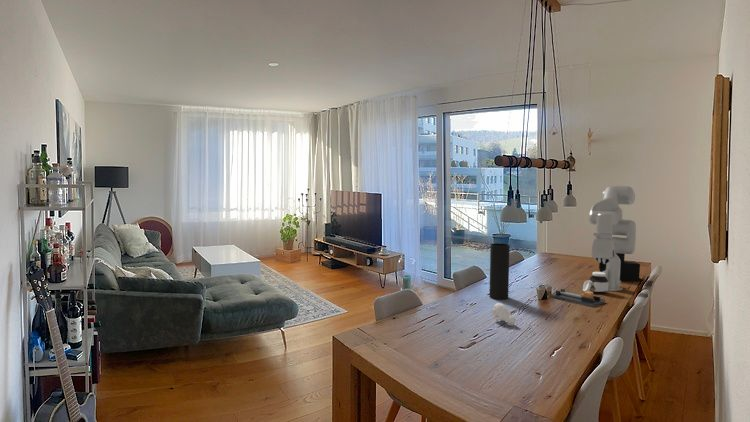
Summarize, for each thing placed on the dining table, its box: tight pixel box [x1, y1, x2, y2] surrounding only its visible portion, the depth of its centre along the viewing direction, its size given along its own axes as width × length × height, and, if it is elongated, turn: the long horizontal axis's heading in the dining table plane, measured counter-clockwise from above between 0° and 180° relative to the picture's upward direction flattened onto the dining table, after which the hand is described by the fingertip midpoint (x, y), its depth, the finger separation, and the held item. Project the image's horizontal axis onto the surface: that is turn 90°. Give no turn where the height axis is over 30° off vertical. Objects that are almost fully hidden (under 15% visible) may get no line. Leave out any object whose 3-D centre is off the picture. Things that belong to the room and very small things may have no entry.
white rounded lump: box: [491, 302, 516, 327], centre depth 211 cm, size 6×8×12 cm
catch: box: [580, 290, 594, 299], centre depth 247 cm, size 5×5×4 cm
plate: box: [549, 288, 606, 308], centre depth 251 cm, size 14×24×4 cm, turn 38°
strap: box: [559, 290, 582, 298], centre depth 254 cm, size 4×14×1 cm, turn 38°
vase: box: [488, 242, 511, 301], centre depth 255 cm, size 10×10×30 cm
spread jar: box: [582, 271, 609, 295], centre depth 267 cm, size 12×11×12 cm
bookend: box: [599, 253, 643, 282], centre depth 301 cm, size 23×11×24 cm, turn 79°
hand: (602, 270), depth 240 cm, fingers closed
